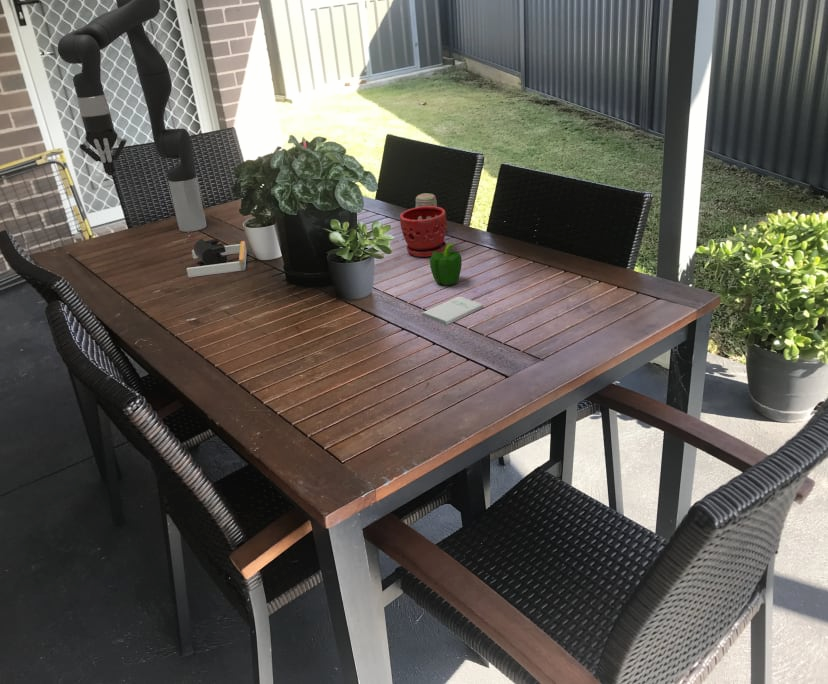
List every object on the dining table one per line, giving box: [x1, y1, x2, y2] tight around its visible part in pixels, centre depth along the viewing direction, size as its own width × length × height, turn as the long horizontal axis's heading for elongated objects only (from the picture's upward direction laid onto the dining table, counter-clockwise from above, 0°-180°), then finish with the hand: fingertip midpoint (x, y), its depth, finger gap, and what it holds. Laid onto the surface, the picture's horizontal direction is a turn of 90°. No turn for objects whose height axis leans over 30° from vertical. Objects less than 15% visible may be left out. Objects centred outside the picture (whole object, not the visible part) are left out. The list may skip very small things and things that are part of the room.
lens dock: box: [186, 240, 248, 278], centre depth 215 cm, size 17×16×3 cm
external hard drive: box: [421, 295, 484, 326], centre depth 173 cm, size 2×8×12 cm
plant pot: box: [399, 206, 447, 258], centre depth 209 cm, size 13×13×12 cm
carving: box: [414, 192, 438, 220], centre depth 225 cm, size 6×8×12 cm
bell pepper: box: [429, 243, 463, 286], centre depth 187 cm, size 8×8×10 cm
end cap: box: [193, 238, 228, 266], centre depth 214 cm, size 10×7×7 cm
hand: (111, 174), depth 210 cm, fingers closed
